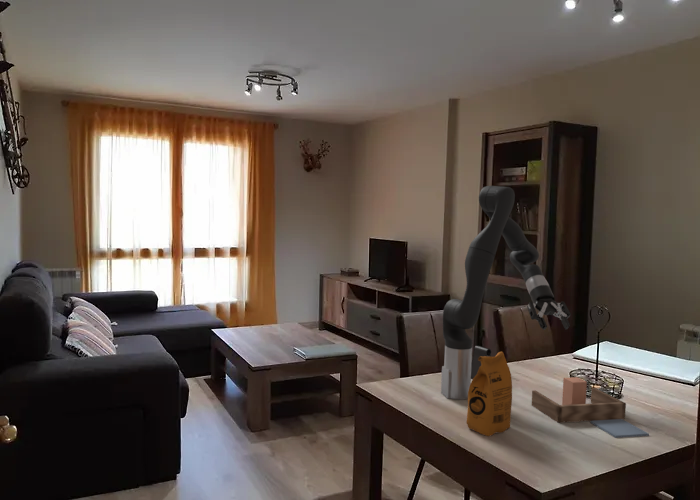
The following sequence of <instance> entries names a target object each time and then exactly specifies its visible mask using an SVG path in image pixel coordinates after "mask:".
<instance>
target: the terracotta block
mask: <svg viewBox="0 0 700 500" xmlns="http://www.w3.org/2000/svg"><path fill="white" fill-rule="evenodd" d="M562 382H563V383H562V396H561V398H562V400H561V401H562V402H561V405H572V404H587V401H586V400H587V385H588V384H587V383H588V382H587V381H586V380H584V379H581V378H579V377H577V376H575V377H563V381H562Z"/></svg>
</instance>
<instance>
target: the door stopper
mask: <svg viewBox="0 0 700 500" xmlns="http://www.w3.org/2000/svg"><path fill="white" fill-rule="evenodd" d="M473 348H474V349H473V356H472V362H471V380H473V378H474V377H475V376H476V375H477V373H478V370H479V367H480V366H481V361H479V360H478V358H479V357H480V356H482V357H484V356H487V357H492V349H491V348H488V347H485V346H480V345H475V346H474V347H473Z"/></svg>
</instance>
